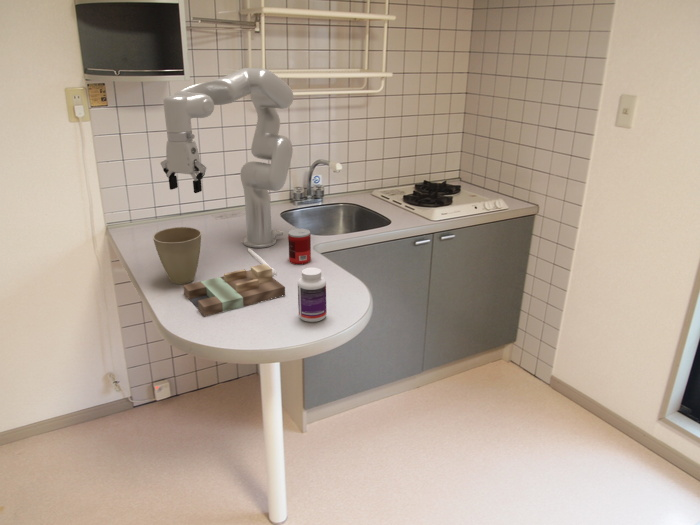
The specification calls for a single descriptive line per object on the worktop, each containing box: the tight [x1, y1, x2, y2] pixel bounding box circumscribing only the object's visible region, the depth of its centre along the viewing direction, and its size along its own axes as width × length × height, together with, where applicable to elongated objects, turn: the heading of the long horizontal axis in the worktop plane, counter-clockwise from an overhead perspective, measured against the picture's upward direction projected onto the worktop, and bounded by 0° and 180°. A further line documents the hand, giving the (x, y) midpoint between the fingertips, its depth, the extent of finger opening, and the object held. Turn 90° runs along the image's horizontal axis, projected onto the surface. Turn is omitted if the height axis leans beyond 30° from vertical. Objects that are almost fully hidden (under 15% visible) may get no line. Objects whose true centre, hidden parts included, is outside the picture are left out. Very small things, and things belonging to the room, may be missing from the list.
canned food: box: [287, 228, 312, 265], centre depth 203 cm, size 8×8×11 cm
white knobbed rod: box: [247, 247, 278, 277], centre depth 203 cm, size 28×4×3 cm, turn 28°
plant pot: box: [152, 226, 202, 285], centre depth 185 cm, size 15×15×16 cm
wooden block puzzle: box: [182, 269, 286, 317], centre depth 177 cm, size 26×18×6 cm
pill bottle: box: [297, 267, 327, 323], centre depth 162 cm, size 8×8×14 cm
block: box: [250, 264, 273, 284], centre depth 181 cm, size 5×5×4 cm
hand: (185, 190), depth 184 cm, fingers open, 9 cm apart
